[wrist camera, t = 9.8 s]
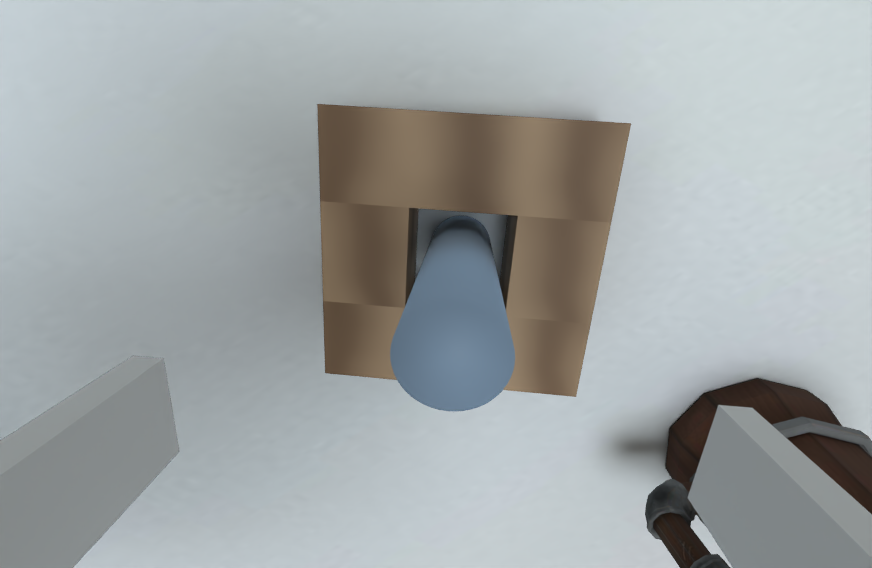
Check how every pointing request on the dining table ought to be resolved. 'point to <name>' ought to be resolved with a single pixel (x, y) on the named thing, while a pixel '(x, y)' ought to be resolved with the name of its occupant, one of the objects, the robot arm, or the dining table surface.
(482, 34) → the dining table surface
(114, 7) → the dining table surface
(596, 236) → the socket block
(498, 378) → the peg
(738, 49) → the dining table surface
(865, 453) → the mug
